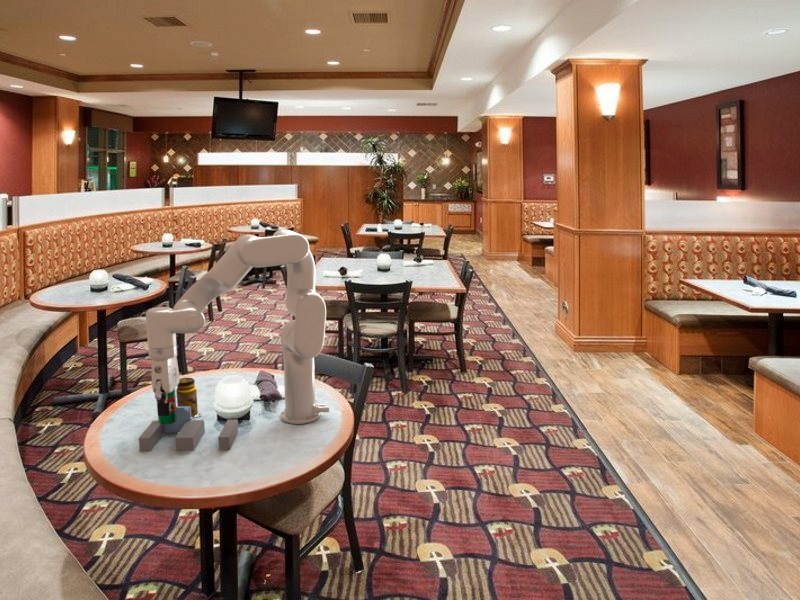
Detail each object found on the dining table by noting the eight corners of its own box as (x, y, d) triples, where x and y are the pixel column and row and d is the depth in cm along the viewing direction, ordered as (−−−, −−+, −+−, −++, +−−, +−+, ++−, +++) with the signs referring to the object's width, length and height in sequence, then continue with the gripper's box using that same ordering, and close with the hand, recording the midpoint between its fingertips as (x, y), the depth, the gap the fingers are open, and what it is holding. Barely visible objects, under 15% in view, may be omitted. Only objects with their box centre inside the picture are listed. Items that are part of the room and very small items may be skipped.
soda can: (178, 418, 182) (176, 379, 179) (175, 425, 177) (172, 385, 174) (160, 418, 181) (157, 379, 178) (156, 426, 176) (153, 386, 174)
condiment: (201, 416, 198) (199, 381, 196) (174, 422, 194) (171, 386, 191) (195, 409, 204) (193, 374, 202) (168, 414, 200) (166, 379, 197)
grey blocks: (239, 430, 188) (237, 405, 186) (229, 450, 176) (228, 423, 174) (155, 431, 187) (153, 406, 185) (139, 451, 174) (137, 424, 173)
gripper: (166, 360, 166) (171, 423, 170) (185, 342, 183) (188, 400, 187) (138, 360, 166) (143, 423, 170) (159, 342, 182) (163, 400, 186)
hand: (167, 410), depth 178 cm, fingers closed on soda can, 5 cm apart
